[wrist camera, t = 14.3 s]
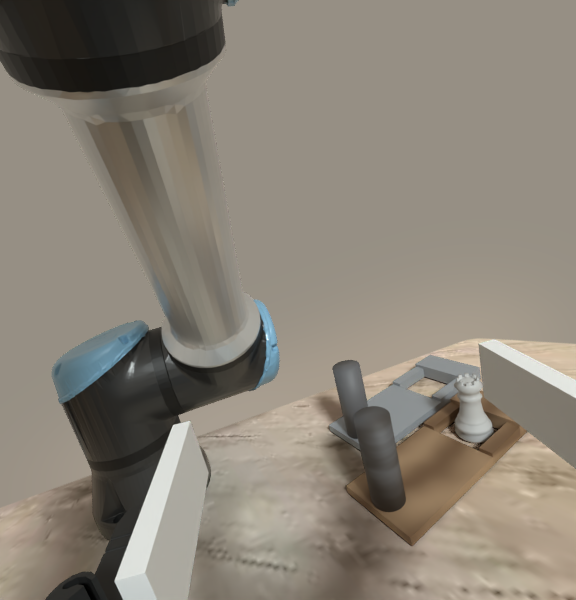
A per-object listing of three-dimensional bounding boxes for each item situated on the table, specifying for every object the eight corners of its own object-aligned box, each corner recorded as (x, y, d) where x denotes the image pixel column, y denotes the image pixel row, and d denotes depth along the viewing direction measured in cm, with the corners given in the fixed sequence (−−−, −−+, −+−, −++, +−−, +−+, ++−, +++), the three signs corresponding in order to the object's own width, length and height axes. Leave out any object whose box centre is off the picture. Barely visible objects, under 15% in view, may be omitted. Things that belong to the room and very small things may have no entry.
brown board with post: (347, 492, 40) (328, 410, 38) (468, 398, 52) (459, 329, 49) (412, 546, 33) (392, 446, 30) (536, 421, 44) (530, 341, 41)
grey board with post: (330, 430, 52) (314, 364, 49) (431, 364, 63) (422, 308, 61) (374, 459, 44) (358, 382, 42) (480, 378, 56) (473, 314, 53)
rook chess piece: (471, 449, 42) (463, 391, 41) (447, 429, 47) (439, 376, 45) (503, 437, 43) (497, 380, 41) (477, 418, 47) (470, 365, 45)
